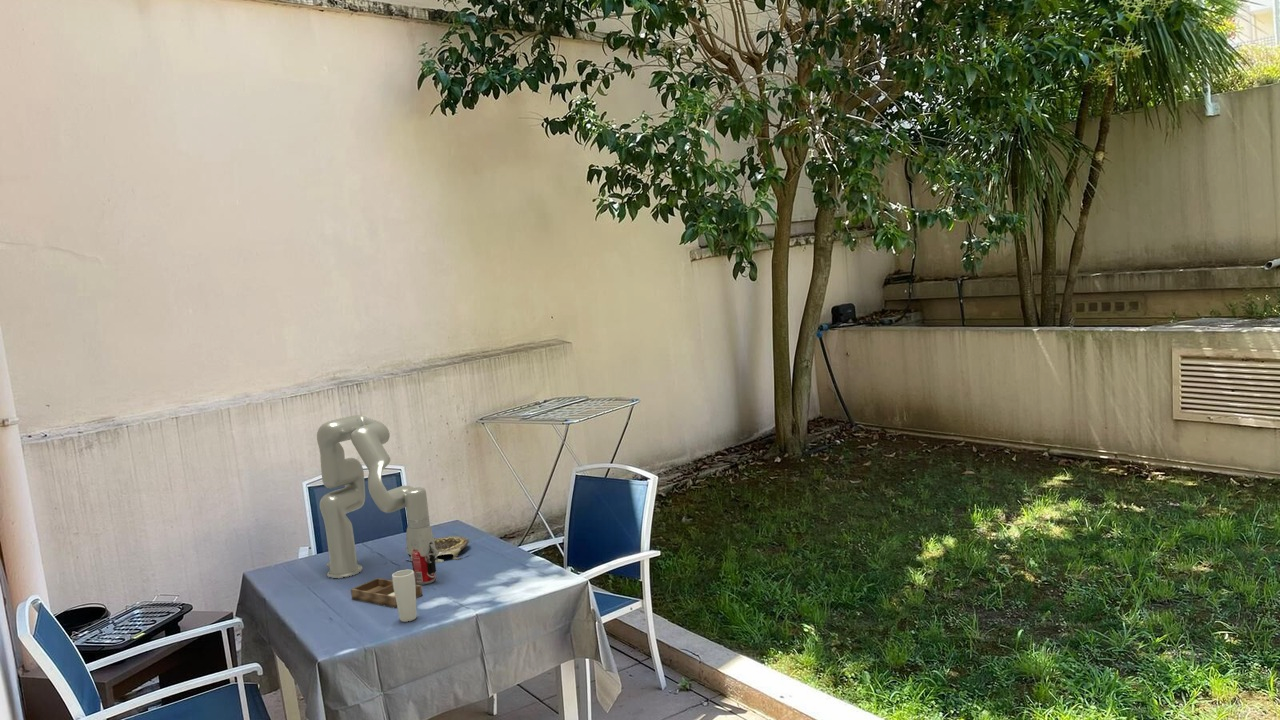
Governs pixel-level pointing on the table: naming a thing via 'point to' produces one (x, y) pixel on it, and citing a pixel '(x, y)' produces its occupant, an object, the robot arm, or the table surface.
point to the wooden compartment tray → (379, 592)
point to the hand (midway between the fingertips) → (424, 571)
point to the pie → (450, 546)
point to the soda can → (421, 569)
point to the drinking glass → (405, 594)
